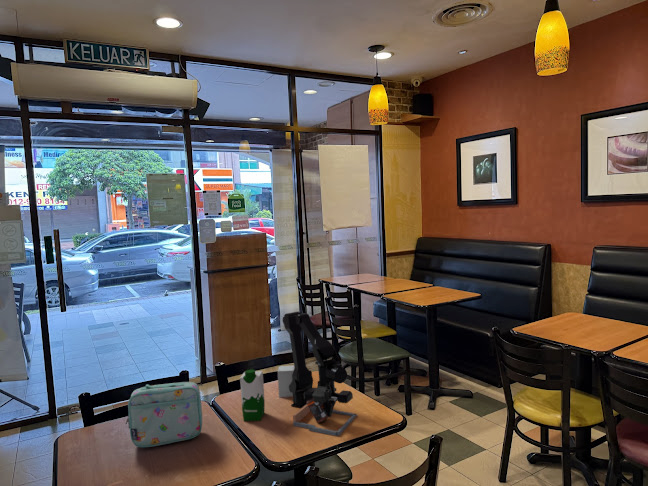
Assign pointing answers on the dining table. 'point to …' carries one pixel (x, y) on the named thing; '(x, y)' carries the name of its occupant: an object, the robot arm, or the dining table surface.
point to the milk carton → (252, 395)
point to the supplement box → (285, 380)
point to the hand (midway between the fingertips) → (329, 416)
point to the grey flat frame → (303, 413)
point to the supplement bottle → (317, 410)
